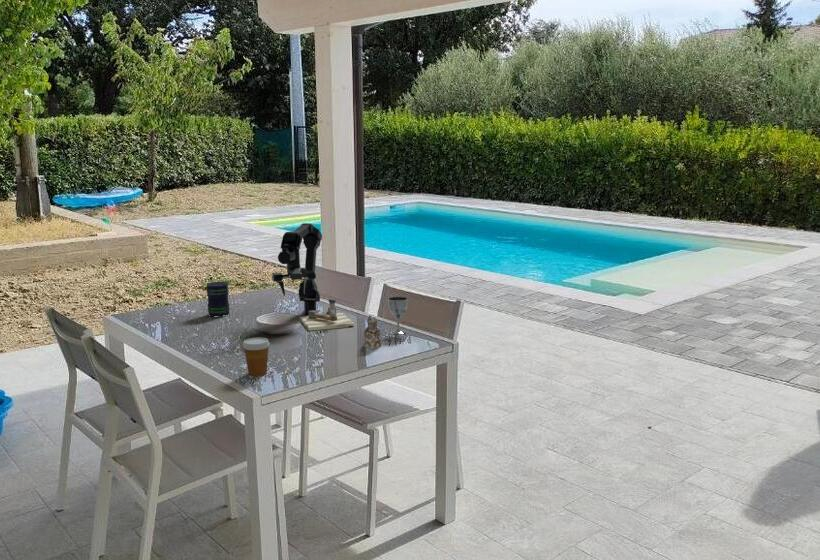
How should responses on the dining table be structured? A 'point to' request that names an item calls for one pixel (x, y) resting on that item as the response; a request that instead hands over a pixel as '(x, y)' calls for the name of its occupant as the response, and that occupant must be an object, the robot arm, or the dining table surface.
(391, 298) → the wine glass
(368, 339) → the figurine
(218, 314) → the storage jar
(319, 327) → the nutcracker base
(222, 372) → the dining table surface
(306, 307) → the robot arm
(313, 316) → the lever
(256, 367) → the disposable coffee cup
